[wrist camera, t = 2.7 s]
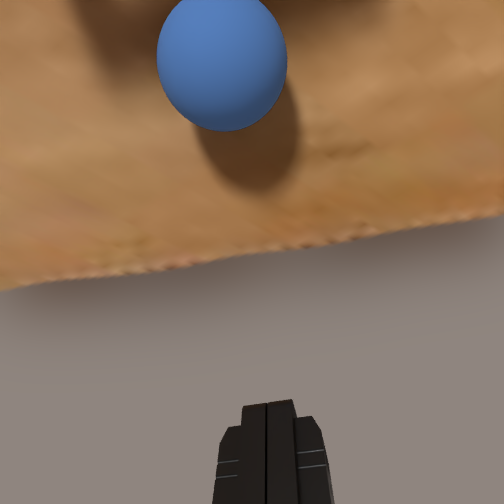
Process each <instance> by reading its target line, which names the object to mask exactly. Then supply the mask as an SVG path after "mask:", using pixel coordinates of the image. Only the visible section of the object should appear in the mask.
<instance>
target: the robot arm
mask: <svg viewBox="0 0 504 504" xmlns="http://www.w3.org/2000/svg"><path fill="white" fill-rule="evenodd" d="M212 504H334V496H333V490H332V484H331V476H330V470H329V463H328V459H327V455H326V450H325V446H324V441H323V437H322V432H321V429H320V428H319V427H318V425H317V423H316V422H315V420H314V419H313V417H312V416H307V417H299V418H297V415H296V411H295V408H294V404H293V400H292V399H290V400H283V401H275V402H269V403H268V404H267V403H262V404H254V405H248V406H243V409H242V420H241V426H233V427H228V429H227V431H226V432H225V434H224V436H223V438H222V440H221V442H220V445H219V454H218V465H217V469H216V480H215V485H214V493H213V501H212Z"/></svg>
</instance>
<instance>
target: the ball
mask: <svg viewBox="0 0 504 504" xmlns="http://www.w3.org/2000/svg"><path fill="white" fill-rule="evenodd" d="M157 68H158V74H159V78H160V81H161V84H162V87H163V89H164V91H165V93H166V95H167V97H168V99H169V100H170V102H171V103H172V105H173V106H174V107H175V108H176V109H177V110H178V112H180V113H181V114H182V115H183V116H184V117H185V118H187V119H188V120H189V121H191V122H192V123H194V124H196V125H198V126H200V127H203V128H206V129H209V130H213V131H221V132H225V131H235V130H240V129H243V128H246V127H248V126H250V125H252V124H254V123H255V122H257V121H259V120H260V119H261V118H262V117H263V116H265V115H266V114H267V113H268V112H269V110H270V109H271V108H272V107H273V105H274V104H275V102H276V101H277V99H278V97H279V95H280V93H281V91H282V88H283V85H284V82H285V78H286V72H287V51H286V45H285V41H284V37H283V35H282V32H281V29H280V27H279V25H278V23H277V21H276V20H275V18H274V17H273V15H272V14H271V12H270V11H269V10H268V9H267V8H266V7H265V6H264V5H263V4H262V3H261V2H260V1H259V0H182V1H181V2H180V3H179V4H178V5H177V6H176V7H175V8H174V9H173V10H172V11H171V13H170V14H169V16H168V17H167V19H166V21H165V23H164V25H163V27H162V30H161V33H160V36H159V40H158V45H157Z"/></svg>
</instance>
